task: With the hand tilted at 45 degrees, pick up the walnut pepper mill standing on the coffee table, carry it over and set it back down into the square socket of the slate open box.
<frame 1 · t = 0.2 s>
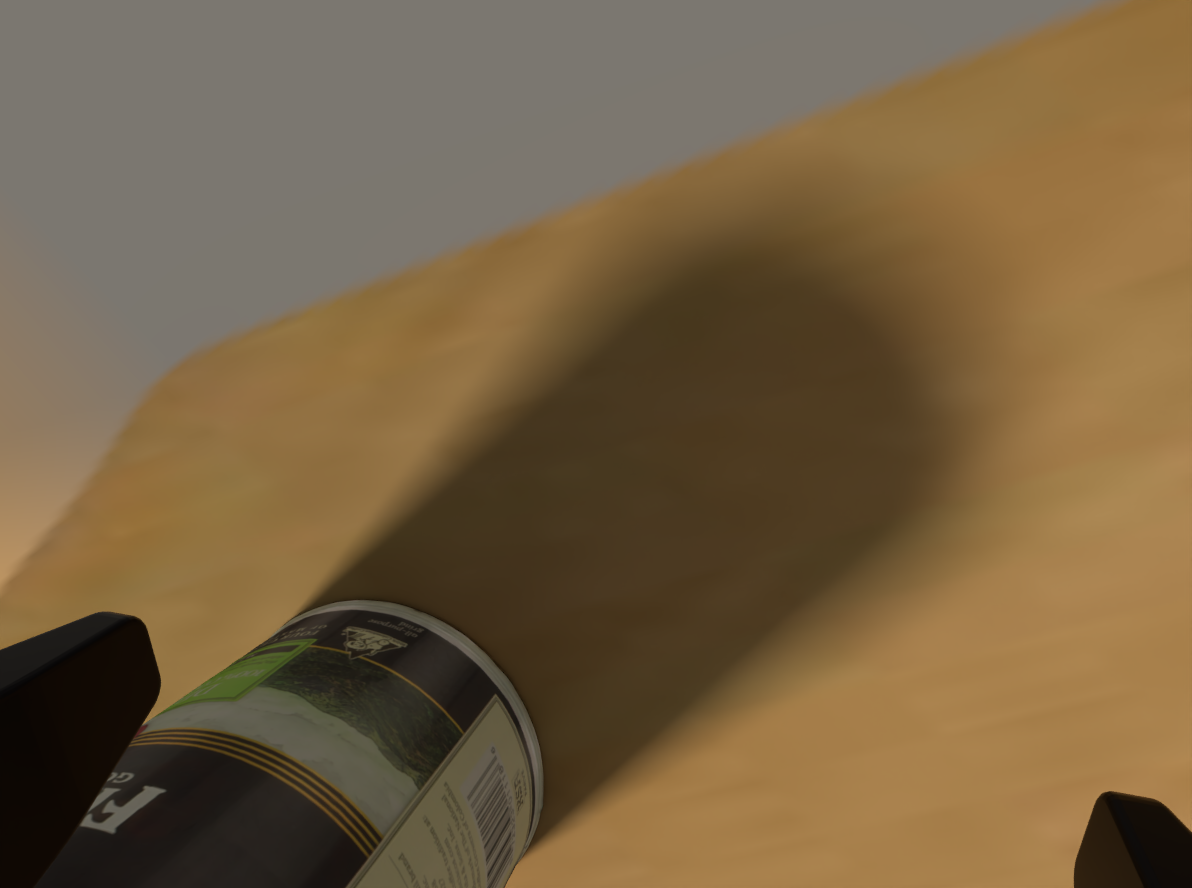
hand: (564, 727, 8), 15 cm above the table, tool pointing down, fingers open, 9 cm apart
coffee can: (389, 753, 28), on the table
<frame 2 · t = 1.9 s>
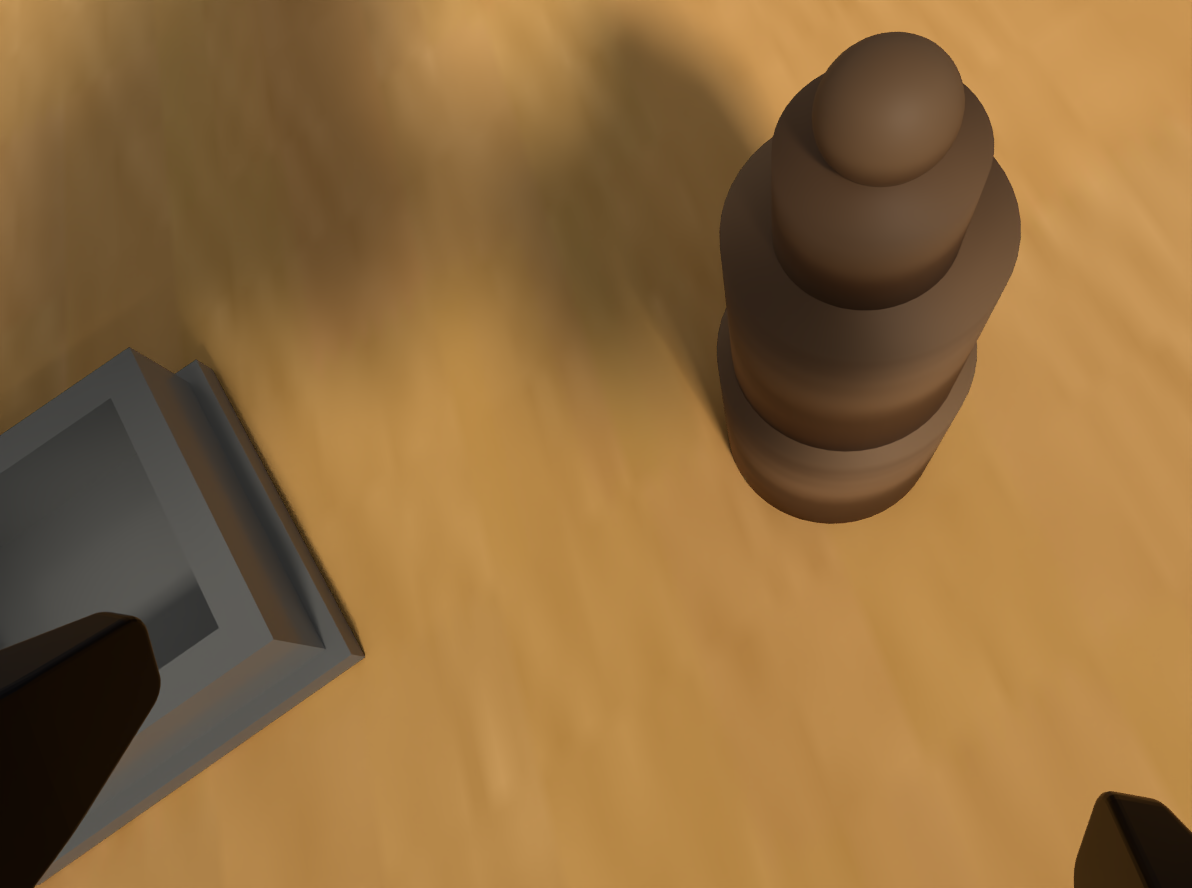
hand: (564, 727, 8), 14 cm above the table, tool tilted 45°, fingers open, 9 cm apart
pepper mill: (828, 426, 22), on the table
slate open box: (132, 607, 25), on the table
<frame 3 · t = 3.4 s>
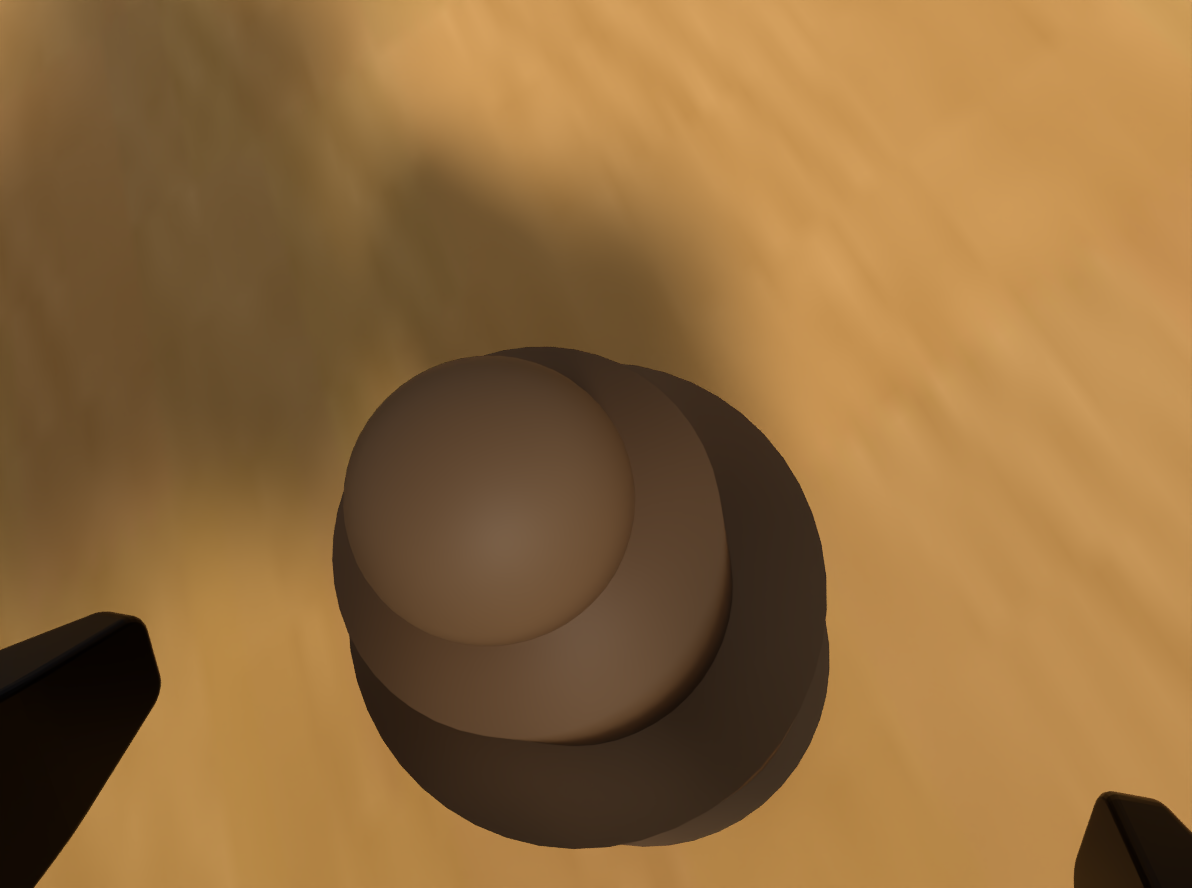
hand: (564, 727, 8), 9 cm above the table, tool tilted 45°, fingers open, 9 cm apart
pepper mill: (676, 681, 17), on the table
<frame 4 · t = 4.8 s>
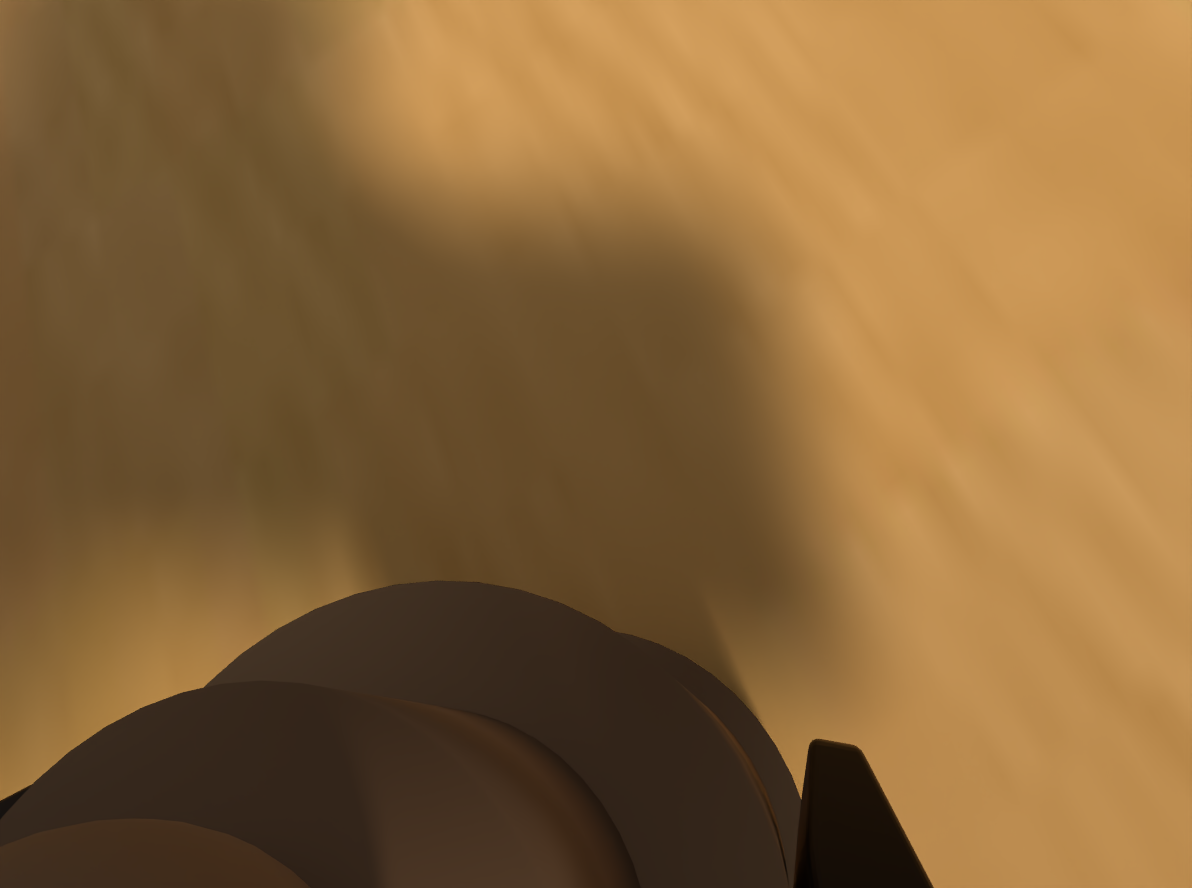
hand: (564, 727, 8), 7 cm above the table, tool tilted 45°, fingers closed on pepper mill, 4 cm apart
pepper mill: (637, 834, 14), on the table, touching gripper
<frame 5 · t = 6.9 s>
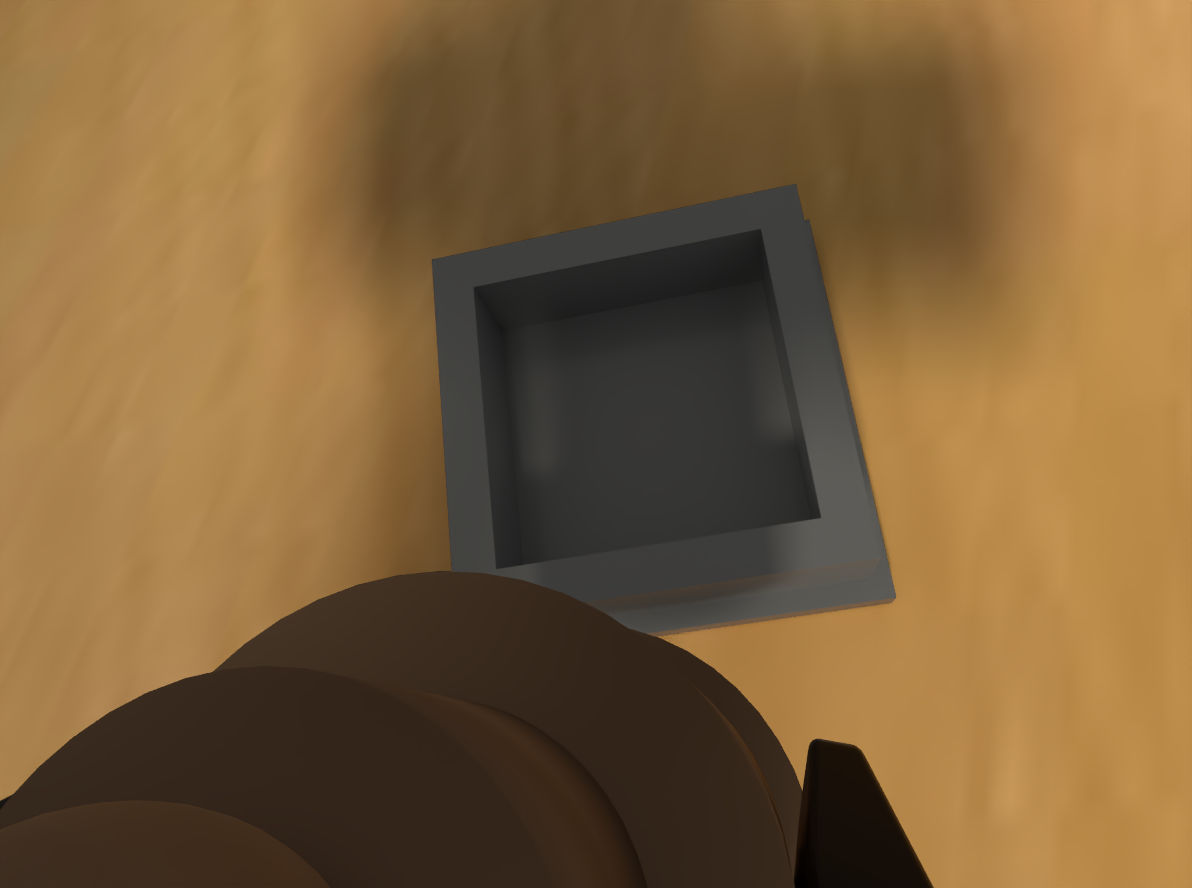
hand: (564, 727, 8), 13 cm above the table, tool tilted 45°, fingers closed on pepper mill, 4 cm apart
pepper mill: (638, 830, 14), point 7 cm above the table, touching gripper
slate open box: (651, 439, 23), on the table
when the fingers open (8 cm above the table, at t = 9.4 s): pepper mill stays where it is, resting on slate open box.
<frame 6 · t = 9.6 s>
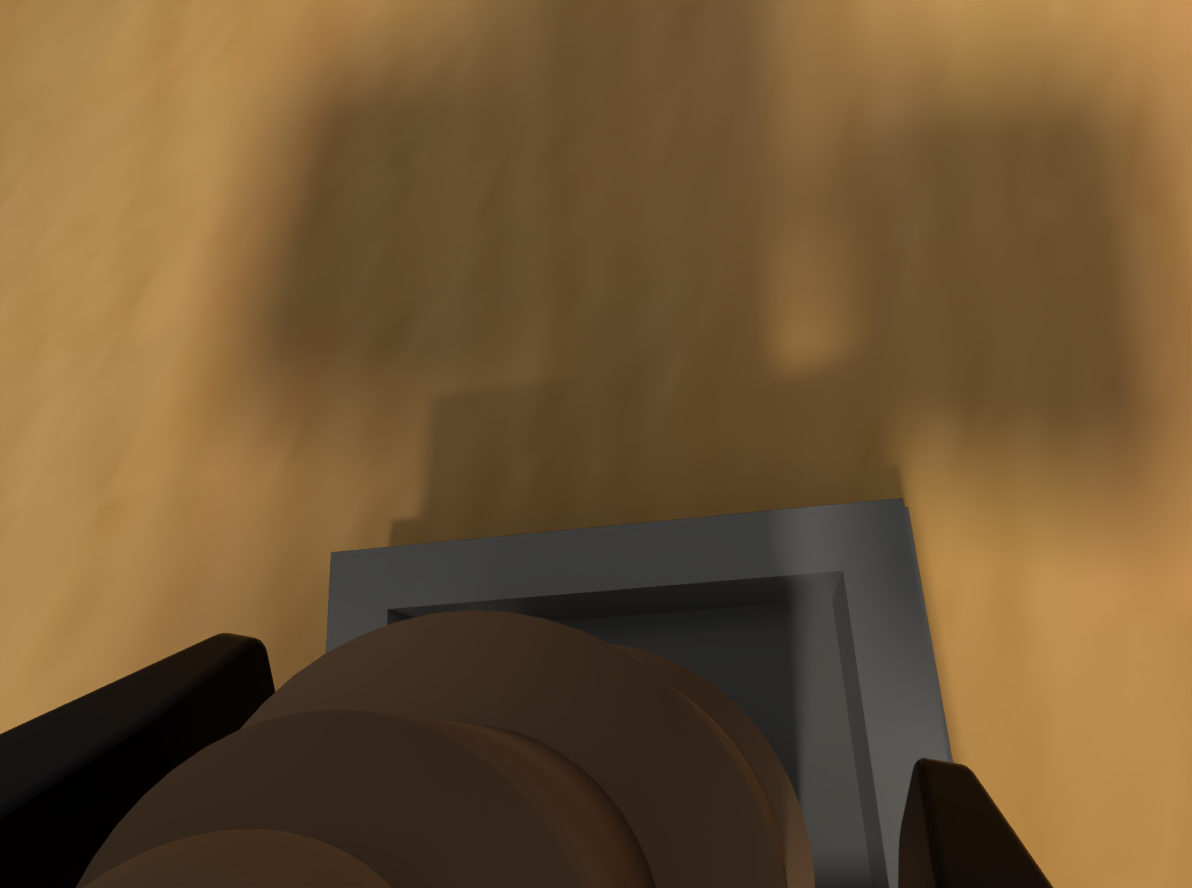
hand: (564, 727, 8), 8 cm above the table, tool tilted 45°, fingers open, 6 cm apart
pepper mill: (644, 834, 15), point 1 cm above the table, touching slate open box
slate open box: (649, 826, 15), on the table
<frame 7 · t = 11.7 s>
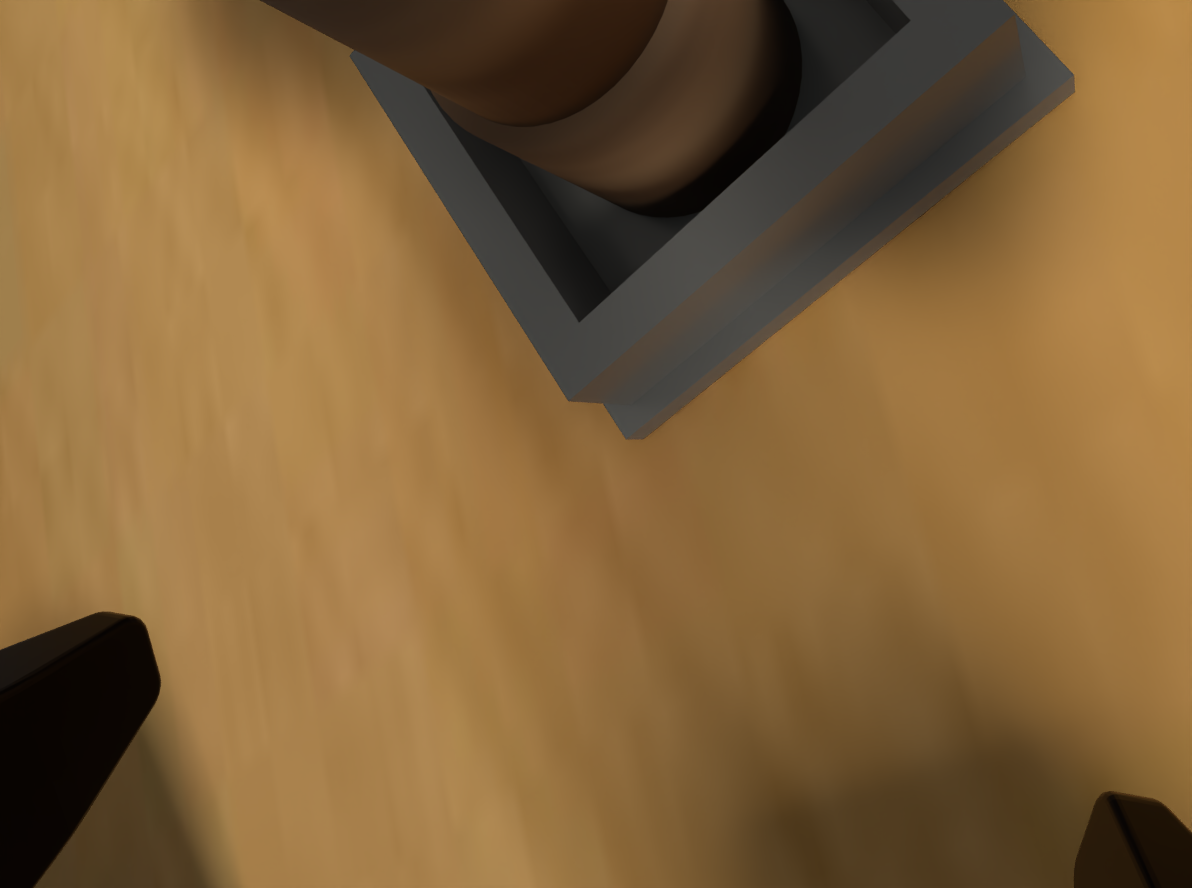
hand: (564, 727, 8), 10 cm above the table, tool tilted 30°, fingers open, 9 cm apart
pepper mill: (677, 90, 18), point 1 cm above the table, touching slate open box
slate open box: (691, 100, 18), on the table
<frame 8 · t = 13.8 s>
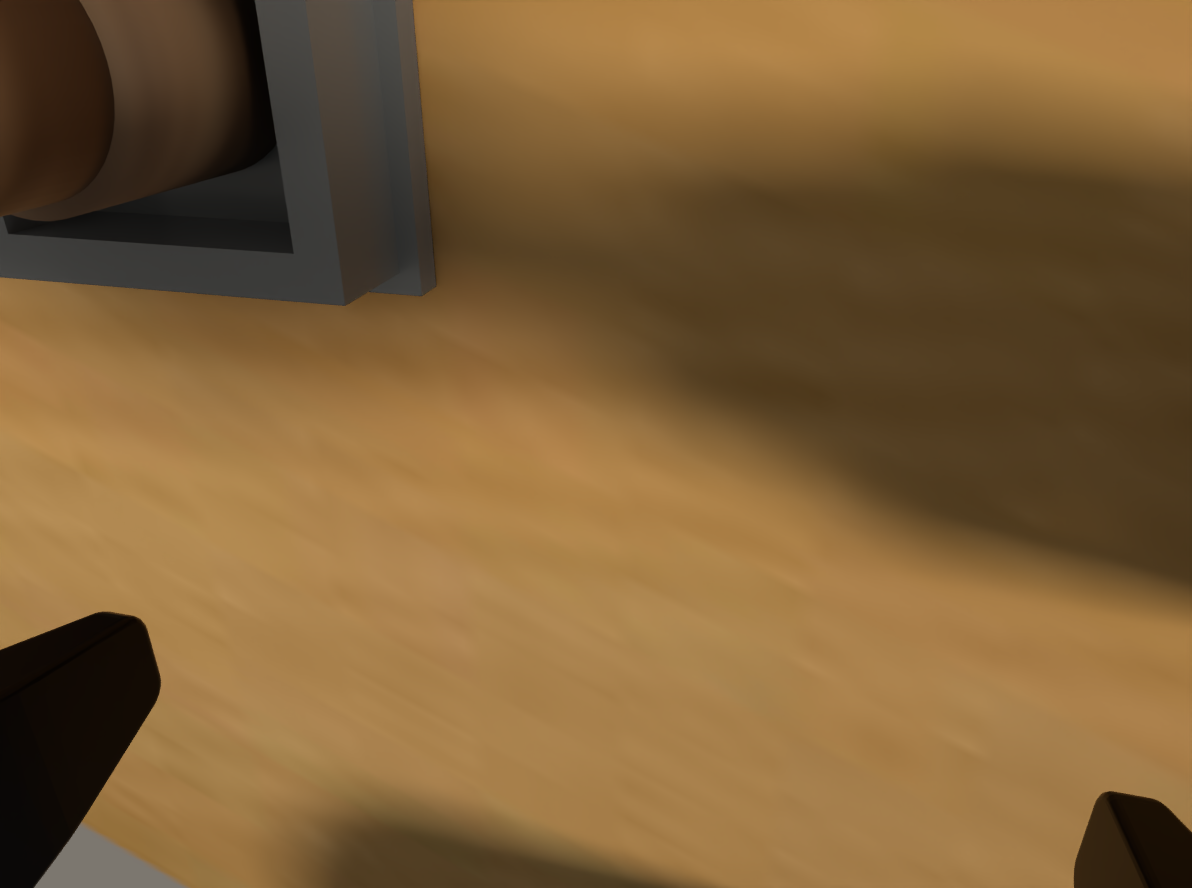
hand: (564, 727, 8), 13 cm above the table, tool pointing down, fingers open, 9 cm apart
pepper mill: (191, 55, 19), point 1 cm above the table, touching slate open box
slate open box: (211, 53, 20), on the table
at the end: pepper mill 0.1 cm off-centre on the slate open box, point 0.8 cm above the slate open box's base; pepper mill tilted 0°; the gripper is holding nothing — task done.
